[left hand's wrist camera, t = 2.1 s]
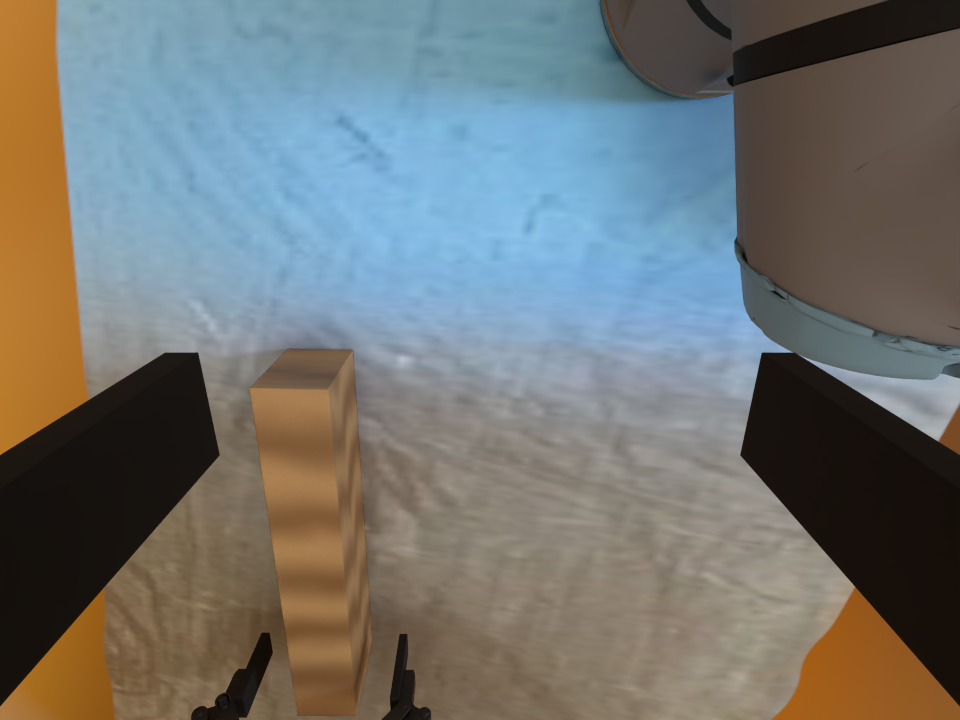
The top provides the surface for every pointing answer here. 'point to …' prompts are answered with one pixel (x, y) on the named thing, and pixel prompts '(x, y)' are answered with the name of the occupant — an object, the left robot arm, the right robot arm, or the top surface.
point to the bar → (317, 523)
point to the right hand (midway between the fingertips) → (335, 642)
